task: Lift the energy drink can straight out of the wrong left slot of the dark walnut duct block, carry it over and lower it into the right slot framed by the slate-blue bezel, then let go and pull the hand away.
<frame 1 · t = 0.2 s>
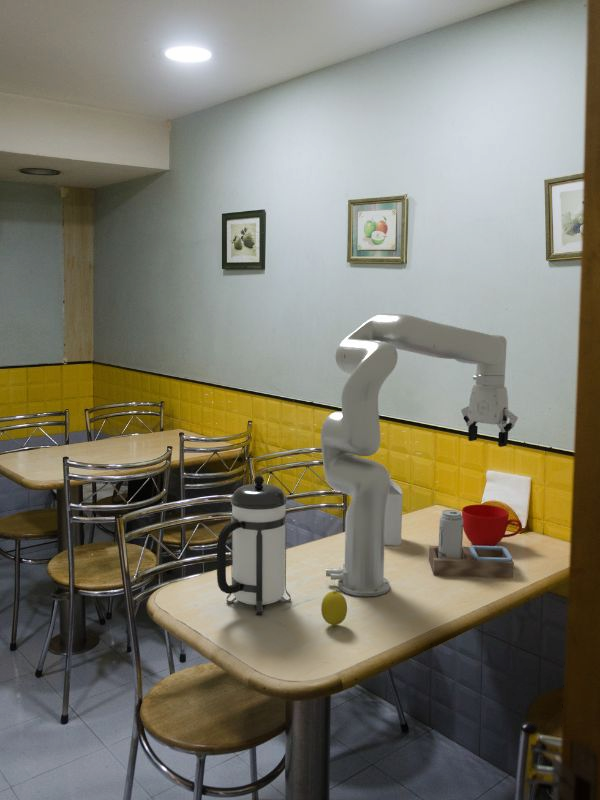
hand: (487, 443, 201), 31 cm above the table, tool pointing down, fingers open, 9 cm apart
duct block: (469, 568, 193), on the table
coffee press: (256, 605, 169), on the table
ceramic cup: (490, 546, 210), on the table
energy drink can: (449, 568, 193), resting in duct block
milk carton: (388, 542, 213), on the table
lemon: (333, 627, 158), on the table
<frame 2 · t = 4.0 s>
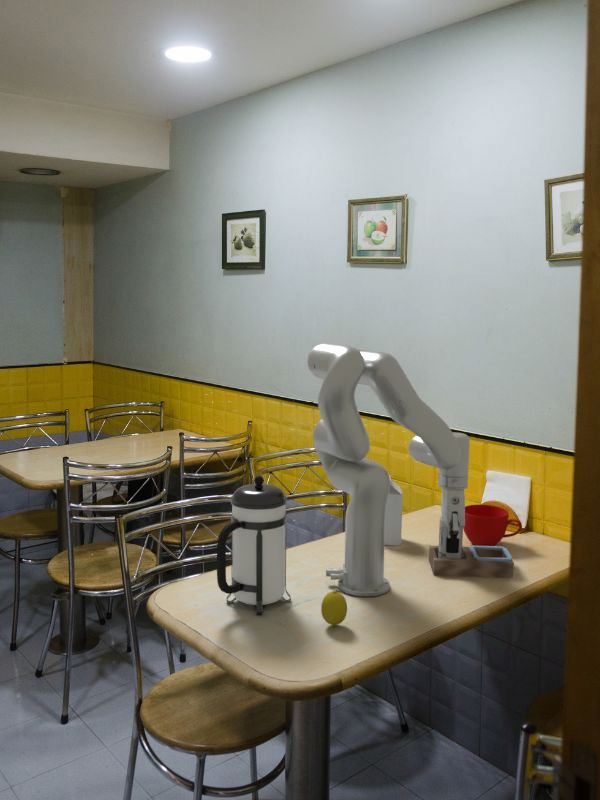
hand: (450, 547, 192), 6 cm above the table, tool pointing down, fingers closed on energy drink can, 6 cm apart
energy drink can: (449, 568, 193), resting in duct block, touching gripper
everything else where it was.
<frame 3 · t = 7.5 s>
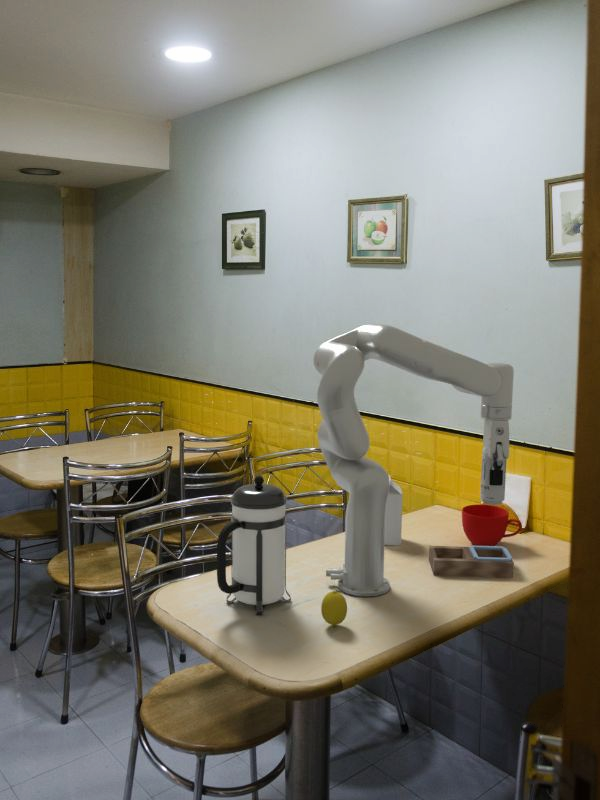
hand: (493, 481, 189), 24 cm above the table, tool pointing down, fingers closed on energy drink can, 6 cm apart
energy drink can: (492, 502, 190), point 18 cm above the table, touching gripper
everything else where it was.
when the fingers open (7 cm above the table, at t = 11.4 s): energy drink can drops 2 cm, resting in duct block.
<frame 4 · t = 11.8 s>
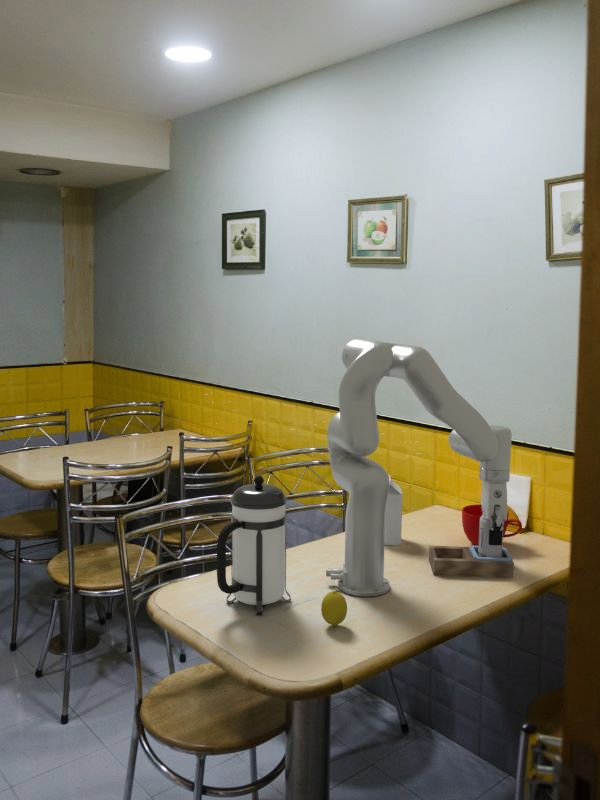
hand: (491, 538, 191), 8 cm above the table, tool pointing down, fingers open, 9 cm apart
energy drink can: (489, 569, 192), resting in duct block
everything else where it was.
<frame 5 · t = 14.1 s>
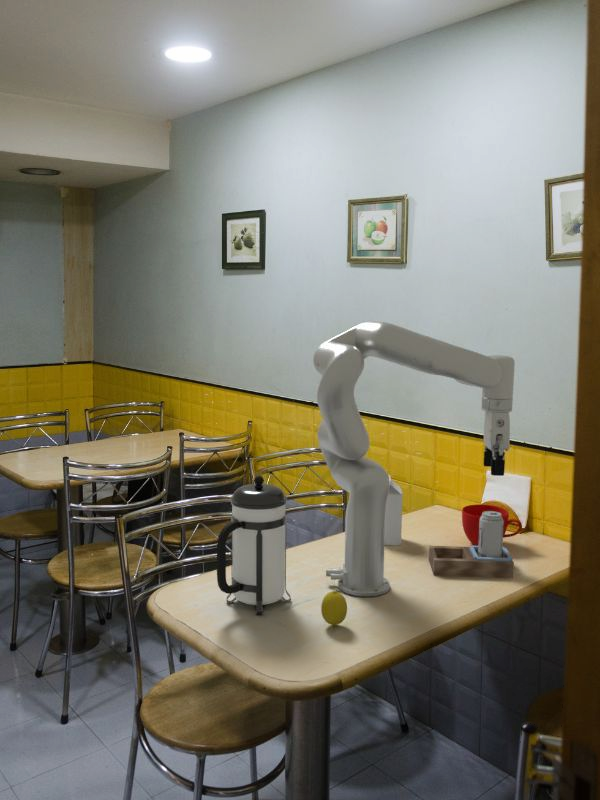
hand: (493, 470, 189), 26 cm above the table, tool pointing down, fingers open, 9 cm apart
nothing on the table moved.
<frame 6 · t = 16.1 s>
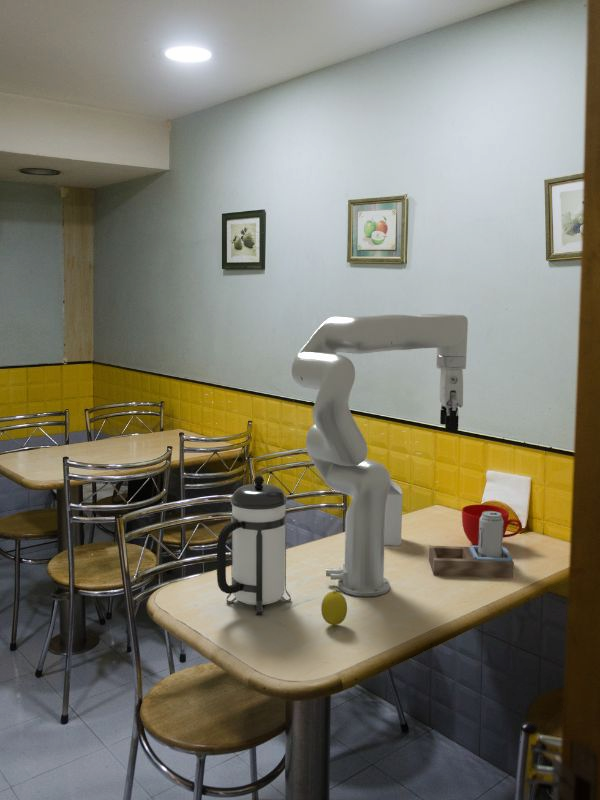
hand: (448, 427, 193), 36 cm above the table, tool pointing down, fingers open, 9 cm apart
nothing on the table moved.
at the end: energy drink can 0.2 cm from the target spot on the duct block, point 0.0 cm above the duct block's base; energy drink can tilted 0°; the gripper is holding nothing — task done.
